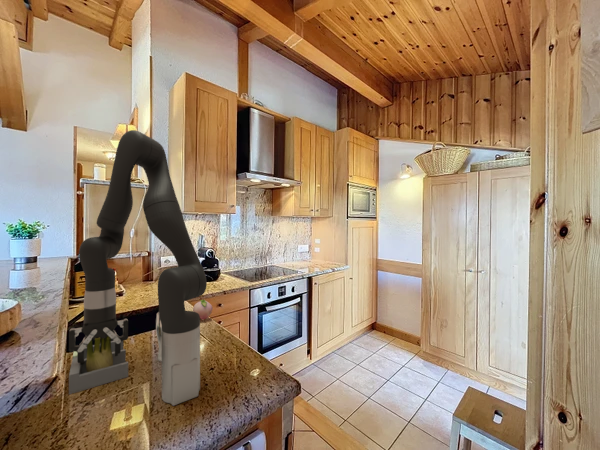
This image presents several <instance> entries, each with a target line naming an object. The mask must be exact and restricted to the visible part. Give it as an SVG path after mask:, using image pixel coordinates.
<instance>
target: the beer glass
mask: <svg viewBox="0 0 600 450" xmlns="http://www.w3.org/2000/svg"><path fill="white" fill-rule="evenodd" d="M155 332H156V333H155V334H156V338H157V343H158V344H157V345H158V353H157V359H156V360H157V361H159V362H162V324H161V321H160V317H159V311H158V312H157V313H156V318H155Z"/></svg>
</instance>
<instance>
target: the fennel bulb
mask: <svg viewBox="0 0 600 450" xmlns="http://www.w3.org/2000/svg"><path fill="white" fill-rule="evenodd" d="M111 341H112V339H111V338H110V337H109V336H108V337H107V338H100V337H99V338H95V340H94V344H93V340H92V339H91V341H90V342H89V343H88V345H86V347H87V362H86V370H87V372H90V371H94V370H98V369H102V368H105V367H109V366H113V355H112V351H111ZM93 345H94V351H93Z"/></svg>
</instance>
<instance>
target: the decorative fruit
mask: <svg viewBox="0 0 600 450" xmlns="http://www.w3.org/2000/svg"><path fill="white" fill-rule="evenodd" d="M192 311H193V312H196V313H198V314H199V316H200V320H202V321H204V319H205V320H207V319H208V318H209V317H210V315H211V314H212V312H213V305H212V304H211V303H210V302H208V301H207V300H206V299H204V298H202V299H200V300H199V301H198V302H196V303H195V304H194V306H193V307H192Z"/></svg>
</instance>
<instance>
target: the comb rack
mask: <svg viewBox="0 0 600 450" xmlns="http://www.w3.org/2000/svg"><path fill="white" fill-rule="evenodd" d="M93 351H94V344H93ZM111 351H112V355H113V366H109V367H105V368H102V369H98V370H94V371H90V372H87V370H86V362H87V346H86V347H85V348H84V364H82V365H81V363H78V362H77V358H78V353H77V352H76V351H73V353H72V354H73V355H72V359H71V365H70V368H69V369H70V370H69V373H68V374H69V375H68V395H73V394H75V393H76V394H77V393H79V392H82V391H85V390H88V389H89V390H90V389H92V388H95V387H99V386H103V385H106V384H109V383H112V382H116V381H119V380H122V379H126V378H129V361H126V360H127V358H126V353H127V352H126V351H127V350H126V348H124V341H122V342H121V352H120V353H119V354H118V356H115V341H114V340H111ZM72 393H73V394H72Z"/></svg>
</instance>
